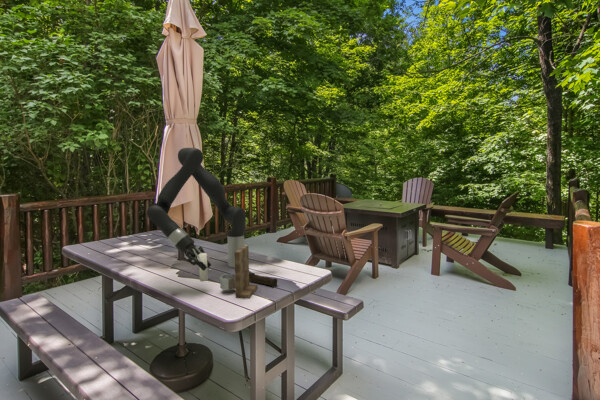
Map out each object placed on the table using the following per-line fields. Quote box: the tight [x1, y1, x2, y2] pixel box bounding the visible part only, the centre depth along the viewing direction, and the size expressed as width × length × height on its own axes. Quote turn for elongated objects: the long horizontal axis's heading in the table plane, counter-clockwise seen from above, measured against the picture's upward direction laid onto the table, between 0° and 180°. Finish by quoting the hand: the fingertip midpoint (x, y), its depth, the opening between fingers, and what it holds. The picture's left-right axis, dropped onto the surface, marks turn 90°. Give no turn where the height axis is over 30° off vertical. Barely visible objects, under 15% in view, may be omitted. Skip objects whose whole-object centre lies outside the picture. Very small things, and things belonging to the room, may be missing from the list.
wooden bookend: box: [234, 245, 259, 299], centre depth 150 cm, size 12×6×20 cm, turn 169°
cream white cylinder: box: [198, 252, 209, 282], centre depth 152 cm, size 4×4×12 cm
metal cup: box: [219, 273, 235, 291], centre depth 152 cm, size 7×9×5 cm
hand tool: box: [249, 271, 278, 288], centre depth 164 cm, size 19×4×5 cm, turn 58°
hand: (207, 267), depth 152 cm, fingers closed on cream white cylinder, 3 cm apart
